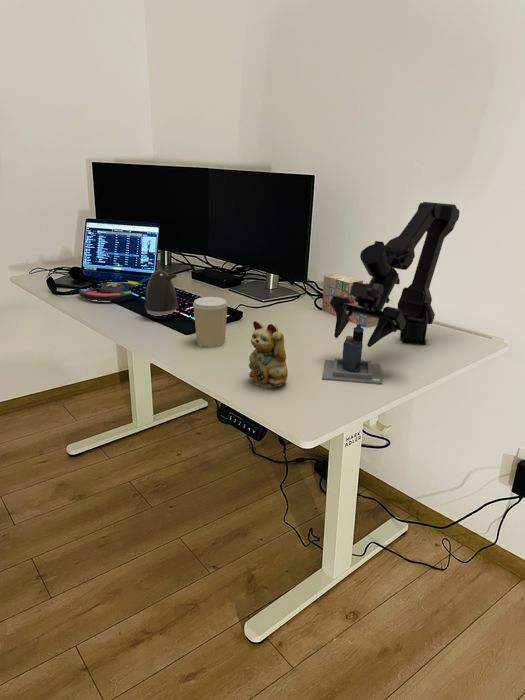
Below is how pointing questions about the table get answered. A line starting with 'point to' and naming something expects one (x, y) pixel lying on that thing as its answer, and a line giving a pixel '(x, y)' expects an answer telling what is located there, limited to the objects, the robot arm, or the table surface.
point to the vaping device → (353, 350)
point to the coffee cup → (210, 321)
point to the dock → (366, 374)
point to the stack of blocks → (342, 287)
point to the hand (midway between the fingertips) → (351, 341)
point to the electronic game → (108, 291)
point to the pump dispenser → (160, 294)
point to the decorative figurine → (268, 356)
